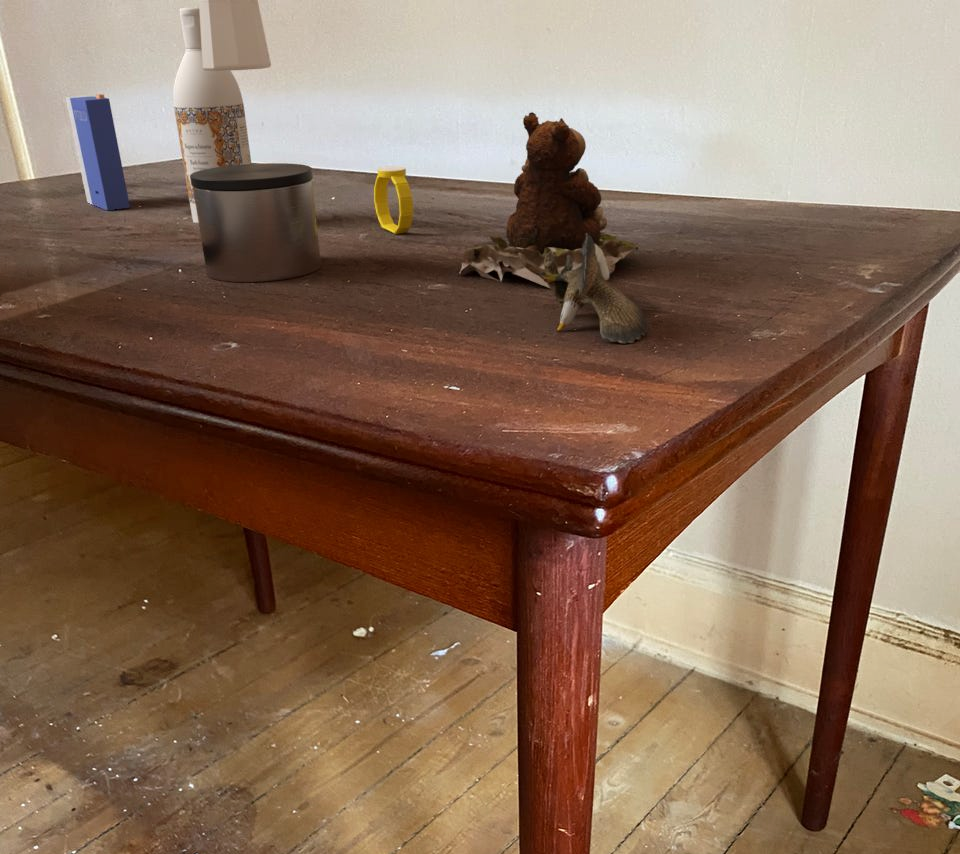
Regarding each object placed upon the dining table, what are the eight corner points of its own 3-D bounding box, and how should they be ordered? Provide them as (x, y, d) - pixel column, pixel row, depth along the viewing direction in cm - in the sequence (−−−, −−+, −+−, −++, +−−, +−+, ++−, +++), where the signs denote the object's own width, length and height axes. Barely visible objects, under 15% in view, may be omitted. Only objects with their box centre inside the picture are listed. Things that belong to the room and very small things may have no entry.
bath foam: (180, 229, 111) (143, 9, 100) (217, 217, 116) (184, 8, 106) (236, 231, 109) (204, 7, 98) (271, 219, 114) (243, 6, 104)
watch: (369, 229, 108) (364, 166, 104) (393, 225, 109) (389, 163, 106) (396, 237, 103) (391, 172, 100) (421, 234, 104) (417, 169, 101)
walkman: (130, 208, 124) (108, 94, 118) (107, 211, 123) (84, 96, 117) (109, 200, 130) (87, 92, 124) (87, 203, 129) (63, 93, 122)
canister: (181, 277, 91) (163, 177, 87) (254, 254, 98) (241, 161, 94) (276, 286, 87) (262, 182, 82) (344, 261, 94) (335, 165, 90)
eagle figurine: (494, 308, 73) (563, 310, 66) (533, 211, 73) (607, 201, 65) (576, 354, 77) (649, 360, 70) (614, 262, 77) (692, 258, 69)
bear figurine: (671, 261, 90) (681, 102, 83) (556, 295, 81) (557, 120, 75) (552, 243, 98) (552, 98, 92) (435, 272, 89) (427, 113, 83)
